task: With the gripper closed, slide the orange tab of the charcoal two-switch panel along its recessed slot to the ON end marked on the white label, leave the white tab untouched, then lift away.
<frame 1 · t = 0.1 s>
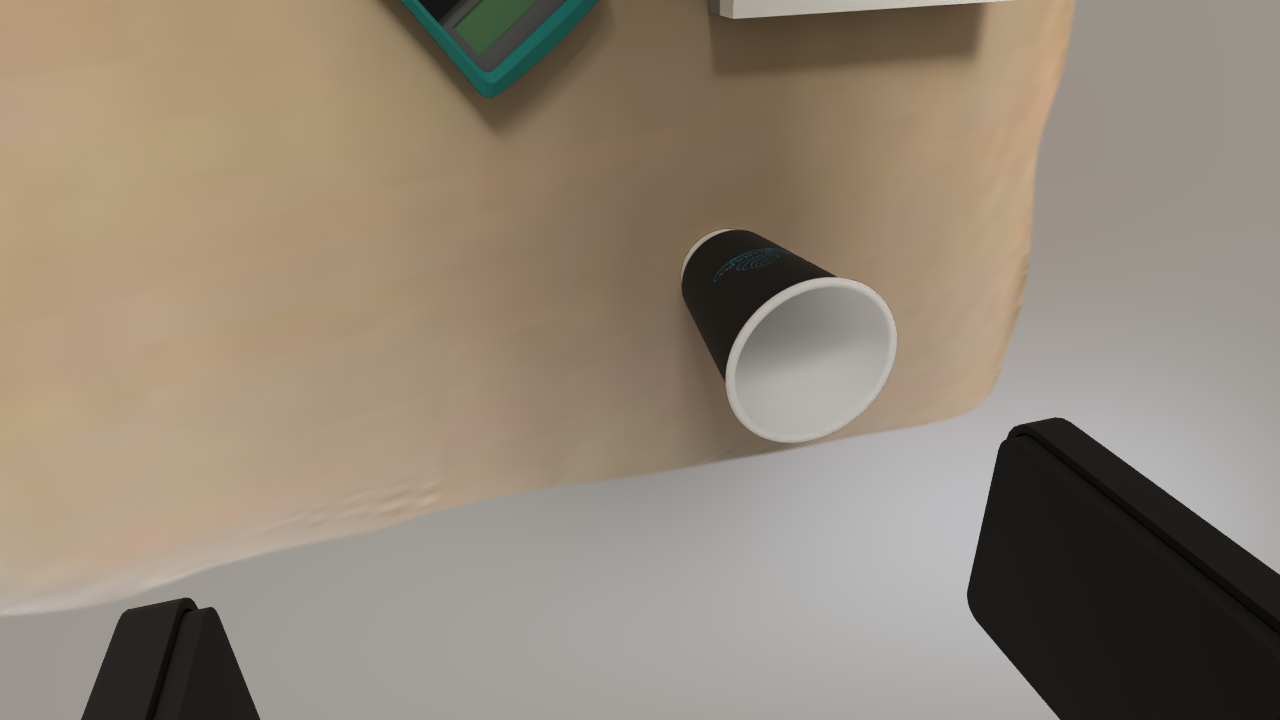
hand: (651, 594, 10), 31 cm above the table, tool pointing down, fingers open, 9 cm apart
dixie cup: (721, 269, 44), on the table
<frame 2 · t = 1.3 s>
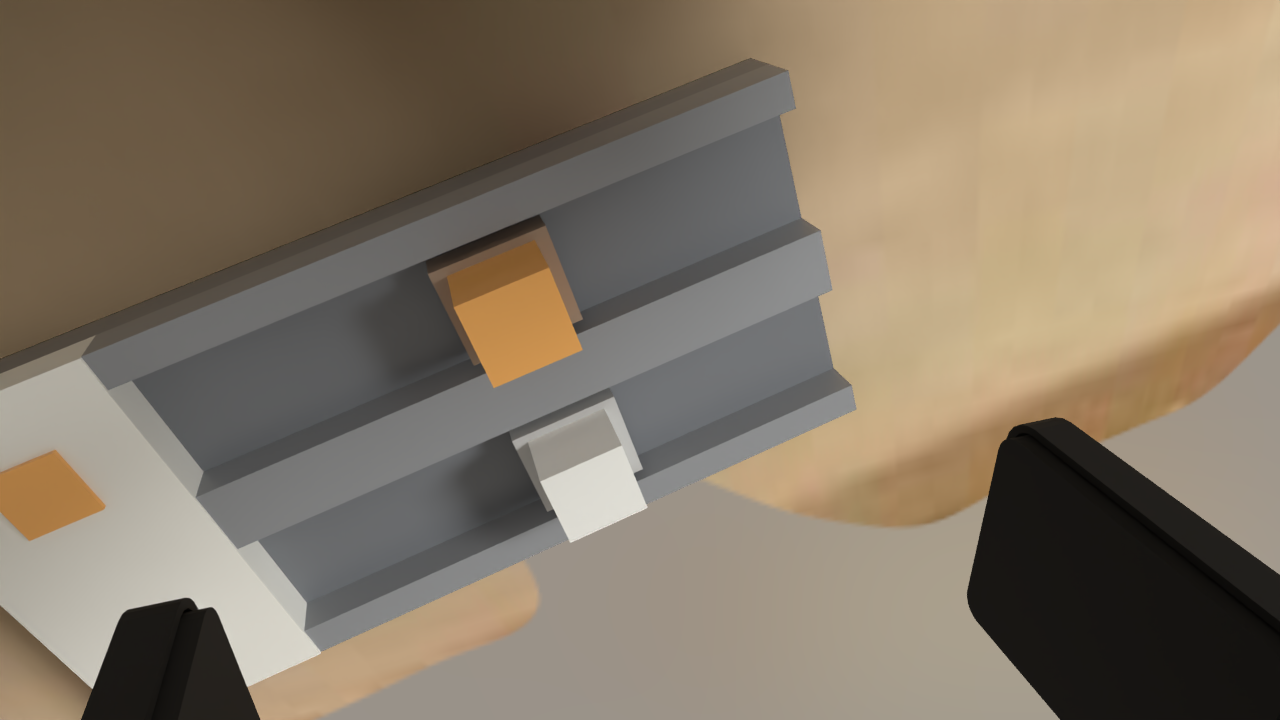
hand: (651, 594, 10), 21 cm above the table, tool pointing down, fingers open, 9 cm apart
tab orange: (511, 305, 26), point 4 cm above the table, slide at 0.0 cm
switch panel: (433, 386, 31), on the table
tab white: (583, 465, 30), point 4 cm above the table, slide at 0.0 cm
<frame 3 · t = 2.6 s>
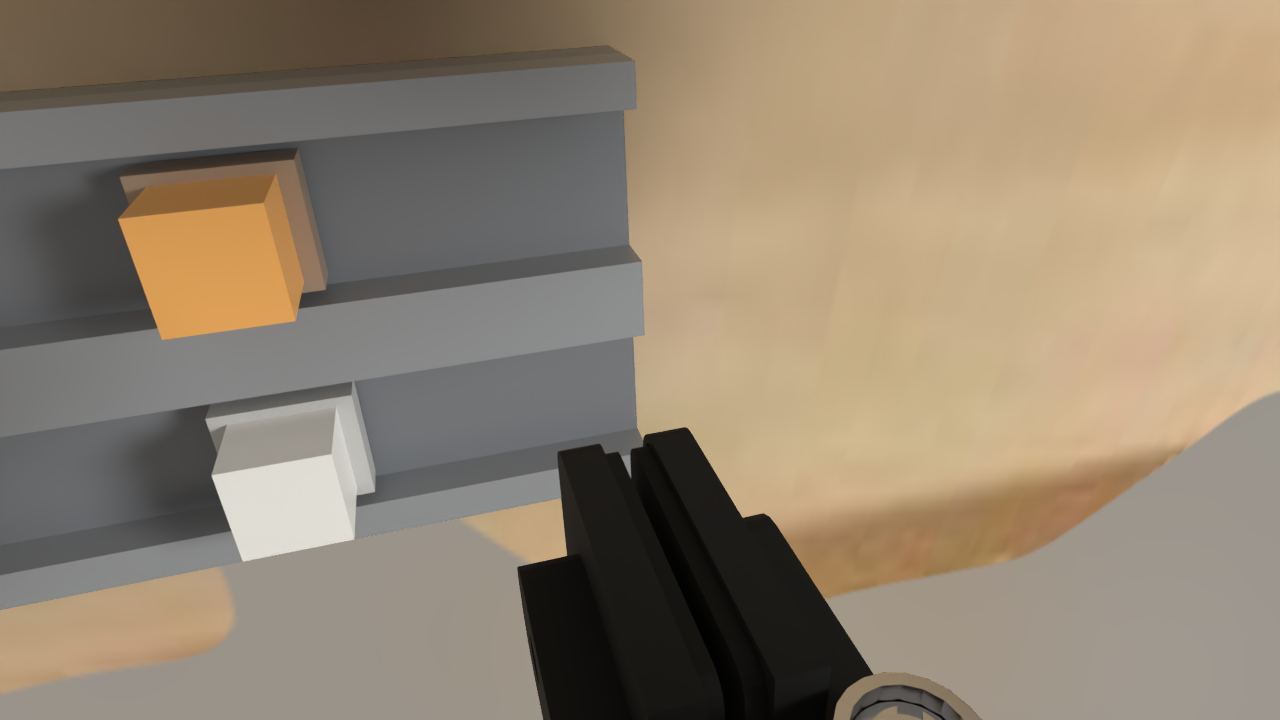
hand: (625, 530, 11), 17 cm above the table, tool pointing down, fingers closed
tab orange: (224, 245, 20), point 4 cm above the table, slide at 0.0 cm
switch panel: (134, 330, 24), on the table
tab white: (292, 469, 24), point 4 cm above the table, slide at 0.0 cm
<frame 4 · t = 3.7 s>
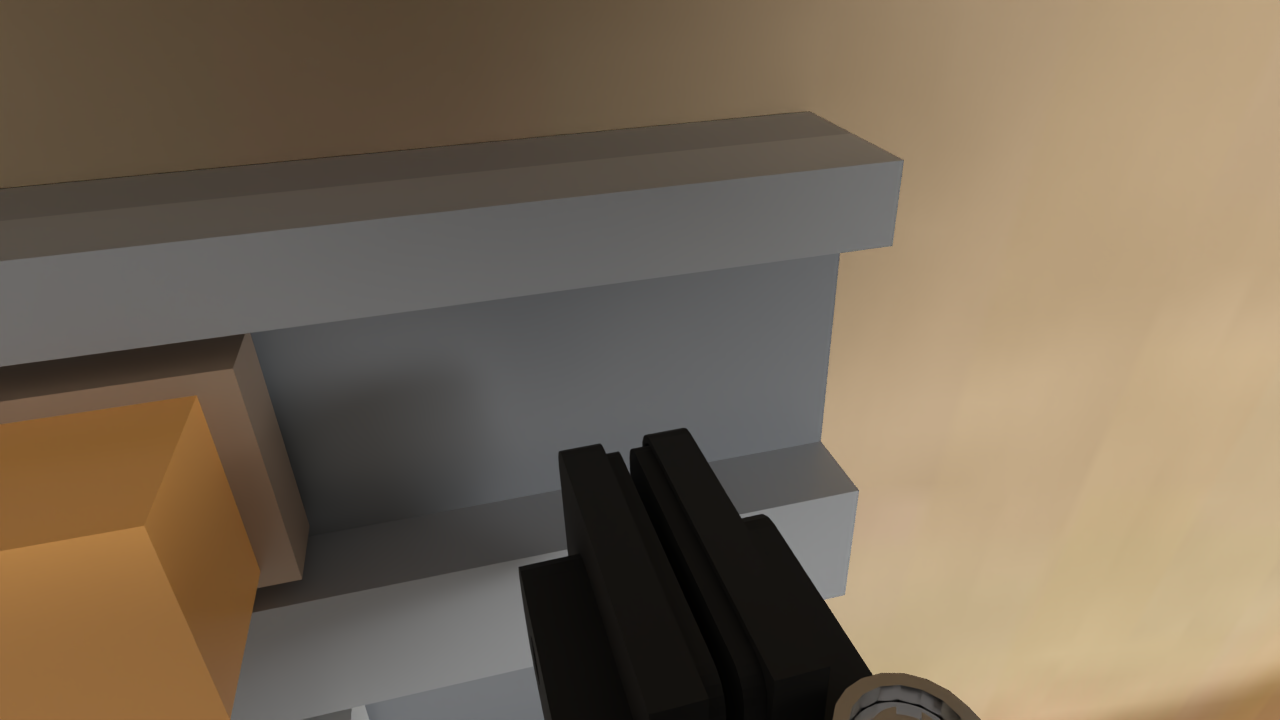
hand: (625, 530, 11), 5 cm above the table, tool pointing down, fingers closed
tab orange: (91, 544, 10), point 4 cm above the table, slide at 0.0 cm
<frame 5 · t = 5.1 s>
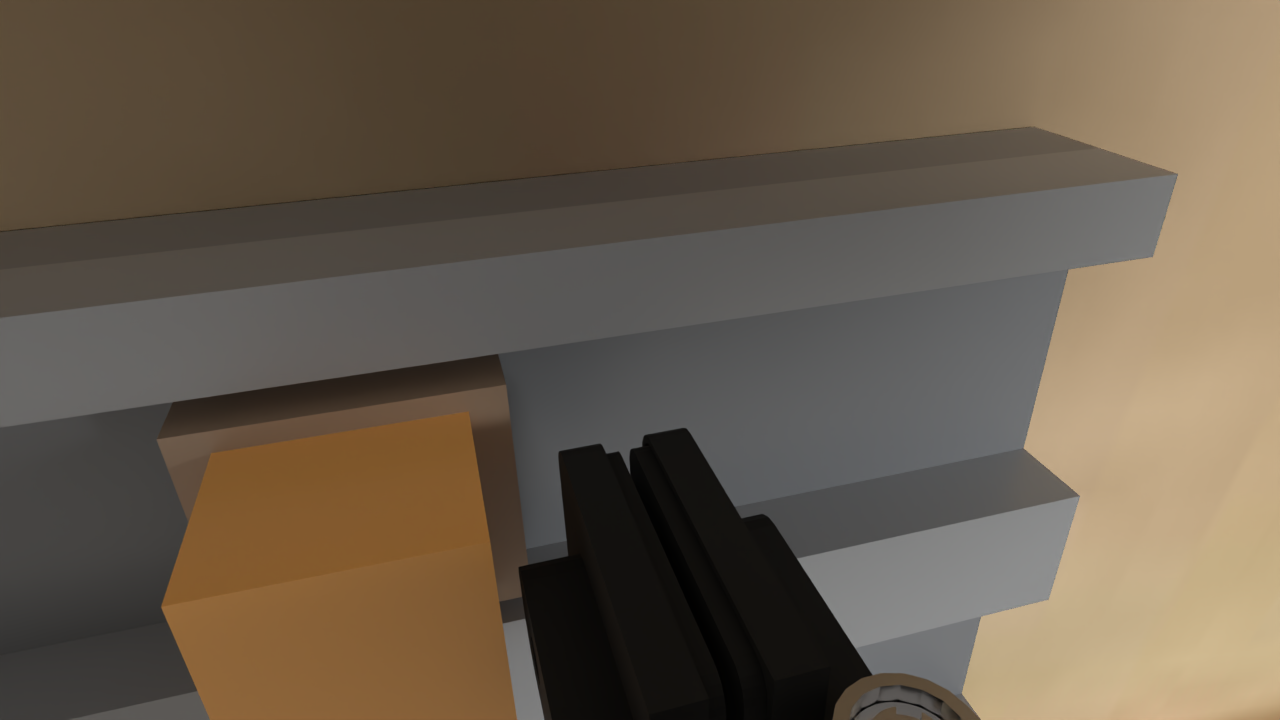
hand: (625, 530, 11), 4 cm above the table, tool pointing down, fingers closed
tab orange: (366, 560, 10), point 4 cm above the table, slide at 0.7 cm, touching gripper
switch panel: (210, 609, 14), on the table
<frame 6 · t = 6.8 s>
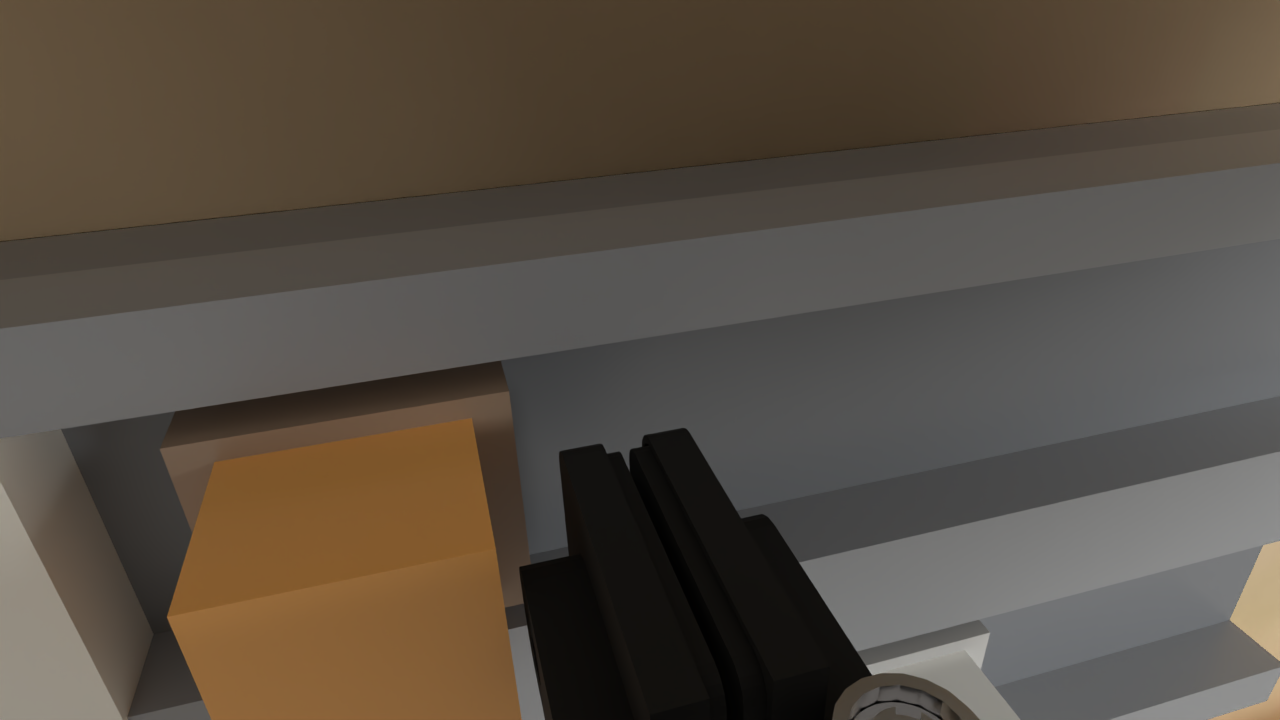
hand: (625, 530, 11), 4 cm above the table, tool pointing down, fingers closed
tab orange: (370, 567, 10), point 4 cm above the table, slide at 8.4 cm, touching gripper
switch panel: (641, 527, 16), on the table
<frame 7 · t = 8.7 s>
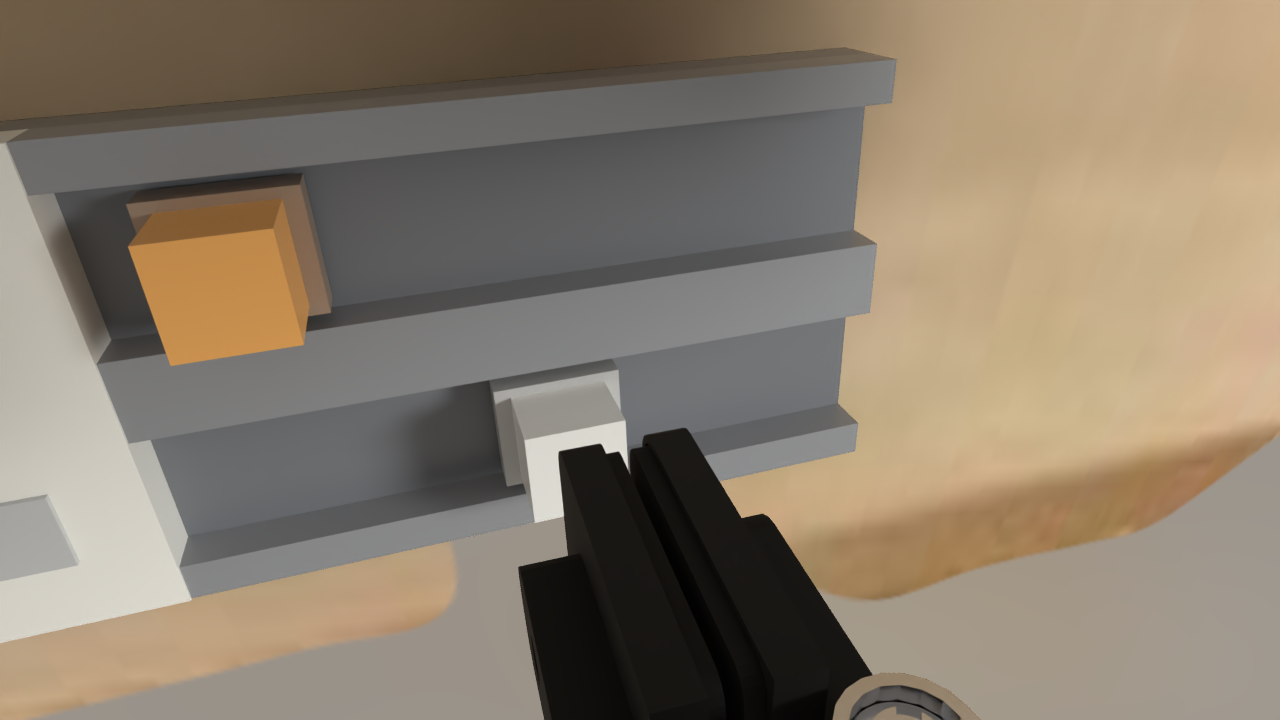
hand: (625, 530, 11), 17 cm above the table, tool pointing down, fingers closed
tab orange: (231, 270, 20), point 4 cm above the table, slide at 8.1 cm
switch panel: (412, 313, 26), on the table
tab white: (566, 439, 26), point 4 cm above the table, slide at 0.0 cm
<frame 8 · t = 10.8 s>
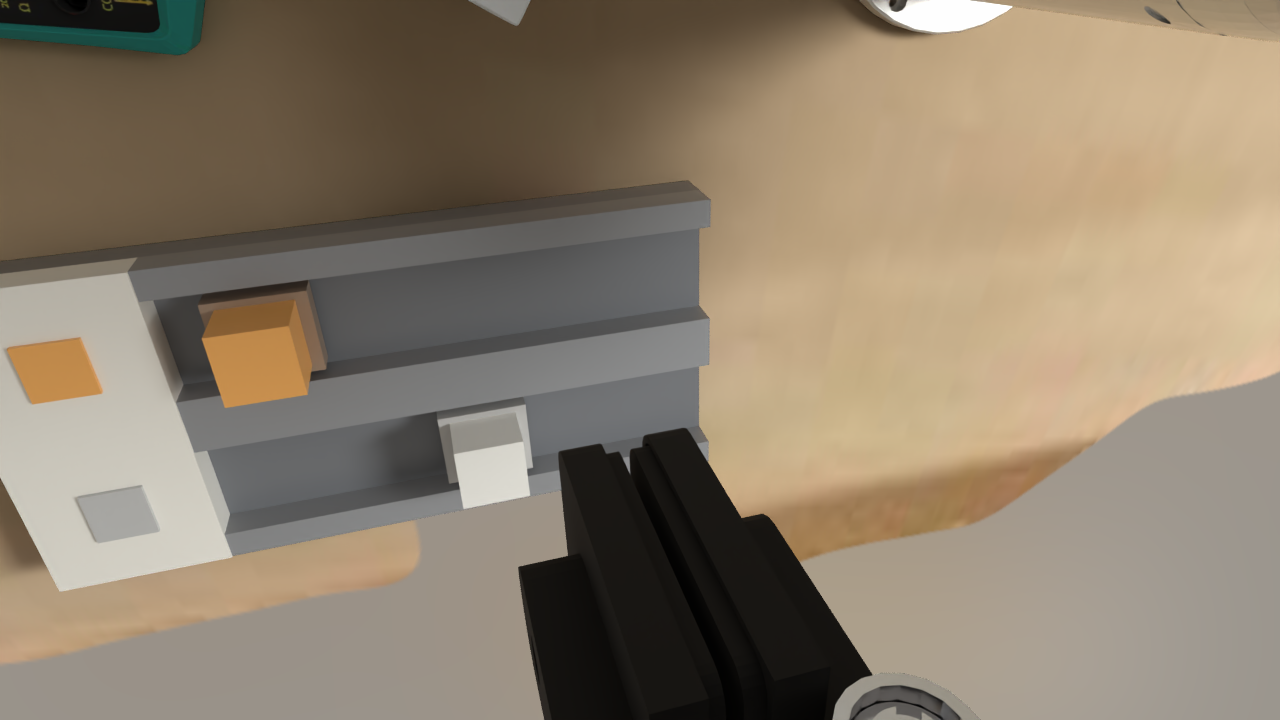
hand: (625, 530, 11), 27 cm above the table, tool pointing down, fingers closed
tab orange: (262, 345, 32), point 4 cm above the table, slide at 8.1 cm
switch panel: (384, 363, 38), on the table
tab white: (488, 452, 37), point 4 cm above the table, slide at 0.0 cm
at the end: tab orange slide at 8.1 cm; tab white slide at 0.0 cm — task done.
